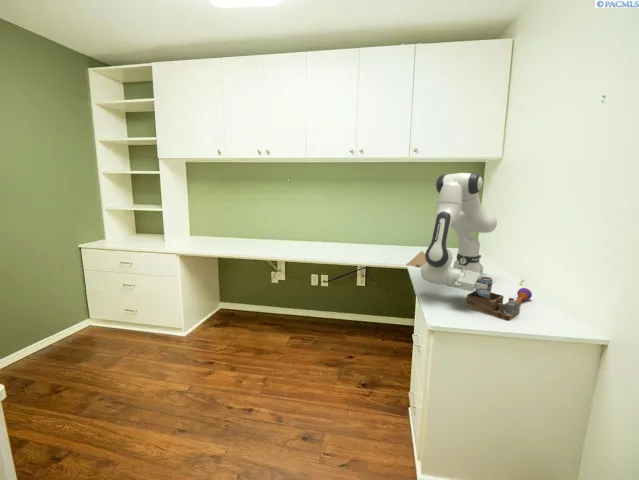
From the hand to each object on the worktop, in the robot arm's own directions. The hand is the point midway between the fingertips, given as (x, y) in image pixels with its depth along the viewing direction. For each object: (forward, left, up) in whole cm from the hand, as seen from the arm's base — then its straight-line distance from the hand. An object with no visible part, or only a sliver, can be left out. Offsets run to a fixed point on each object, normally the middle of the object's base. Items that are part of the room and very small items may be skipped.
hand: (489, 284), depth 141 cm
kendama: (-20, +8, -12) cm, 24 cm away
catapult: (0, +3, -12) cm, 12 cm away
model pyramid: (-44, -61, -12) cm, 76 cm away
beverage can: (+1, -2, -9) cm, 9 cm away
